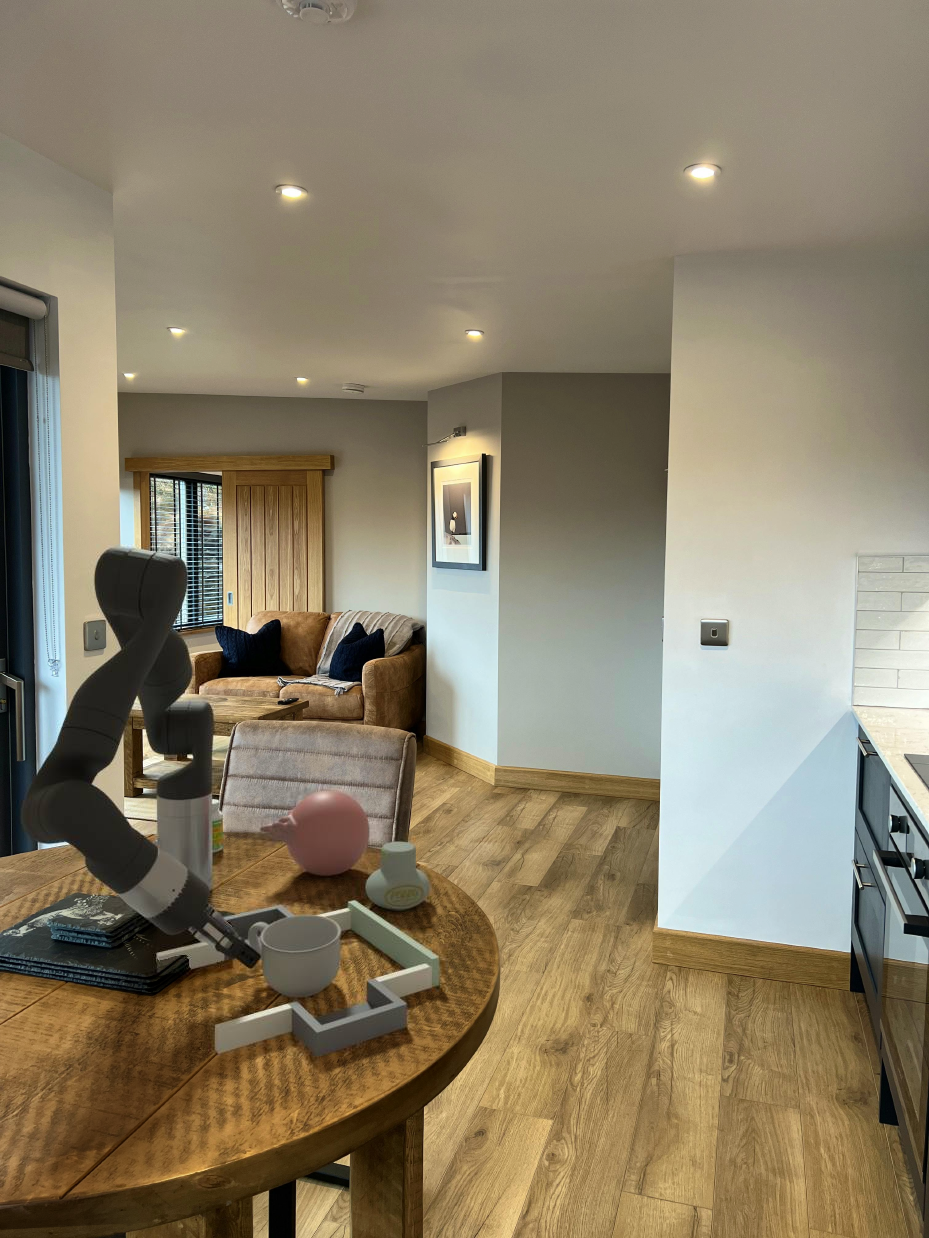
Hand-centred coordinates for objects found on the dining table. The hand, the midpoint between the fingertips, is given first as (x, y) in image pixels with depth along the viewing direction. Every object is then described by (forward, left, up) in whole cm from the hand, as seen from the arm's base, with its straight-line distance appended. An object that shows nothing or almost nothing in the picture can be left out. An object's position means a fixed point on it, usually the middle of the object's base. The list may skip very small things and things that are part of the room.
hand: (254, 960), depth 121 cm
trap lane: (+5, +3, -4) cm, 7 cm away
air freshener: (+20, +30, -4) cm, 36 cm away
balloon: (+5, +45, -4) cm, 45 cm away
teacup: (+5, +2, -4) cm, 7 cm away
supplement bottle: (-17, +60, -4) cm, 62 cm away
